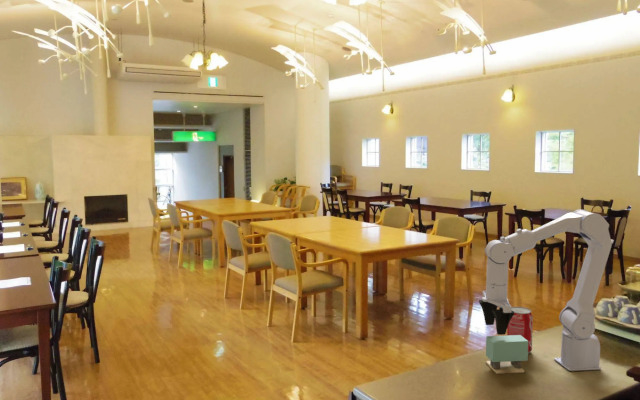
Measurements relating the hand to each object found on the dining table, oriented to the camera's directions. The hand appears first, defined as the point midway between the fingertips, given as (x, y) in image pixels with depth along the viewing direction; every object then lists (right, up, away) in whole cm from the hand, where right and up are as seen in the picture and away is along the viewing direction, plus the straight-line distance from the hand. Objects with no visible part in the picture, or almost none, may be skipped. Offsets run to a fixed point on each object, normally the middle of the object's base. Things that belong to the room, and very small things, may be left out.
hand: (495, 329), depth 147 cm
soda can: (+10, -9, +9) cm, 16 cm away
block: (+2, -7, -3) cm, 8 cm away
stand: (+2, -10, -3) cm, 11 cm away
